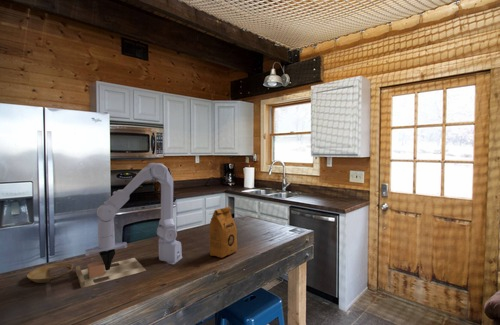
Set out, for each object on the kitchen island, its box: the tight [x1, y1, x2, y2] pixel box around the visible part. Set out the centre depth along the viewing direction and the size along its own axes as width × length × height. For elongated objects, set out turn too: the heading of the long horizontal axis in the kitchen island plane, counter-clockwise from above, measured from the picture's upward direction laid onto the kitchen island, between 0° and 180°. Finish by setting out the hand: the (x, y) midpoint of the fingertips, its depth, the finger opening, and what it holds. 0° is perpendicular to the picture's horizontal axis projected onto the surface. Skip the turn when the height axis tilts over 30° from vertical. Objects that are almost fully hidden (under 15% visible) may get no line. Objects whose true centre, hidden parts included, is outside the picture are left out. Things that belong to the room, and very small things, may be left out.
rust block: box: [87, 260, 105, 279], centre depth 105 cm, size 5×5×4 cm
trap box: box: [75, 257, 147, 289], centre depth 108 cm, size 22×17×3 cm
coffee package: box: [208, 206, 238, 258], centre depth 128 cm, size 10×12×22 cm
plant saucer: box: [26, 262, 74, 284], centre depth 107 cm, size 15×15×3 cm
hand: (107, 269), depth 107 cm, fingers closed
